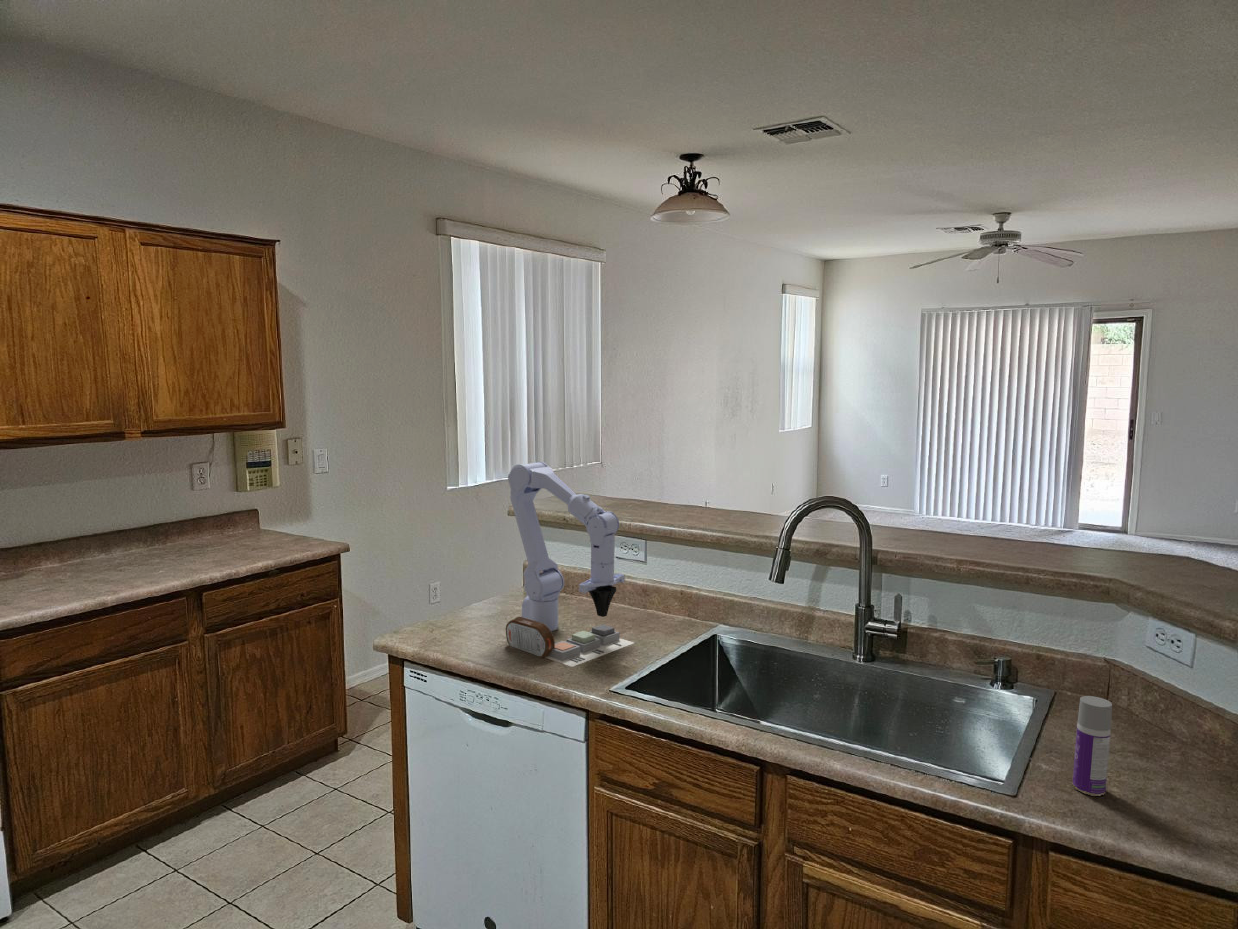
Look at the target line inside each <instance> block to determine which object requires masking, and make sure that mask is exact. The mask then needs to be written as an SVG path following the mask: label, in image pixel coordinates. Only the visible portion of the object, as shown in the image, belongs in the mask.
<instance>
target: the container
mask: <svg viewBox="0 0 1238 929" xmlns="http://www.w3.org/2000/svg"><path fill="white" fill-rule="evenodd" d="M1112 714H1113V704H1112V702H1111V701H1109V700H1108V699H1105V698H1102V697H1098V696H1092V695H1085V696H1081V697H1080V698H1079V708H1078V715H1077V722H1076V723H1077V724H1076V735H1075V746H1074V758H1073V770H1072V771H1073V772H1072V782H1073V785H1075V787H1077V788H1078V789H1079V790H1081V791H1086V792H1089V793H1092V794H1093V793H1094V794H1101V793H1104V792H1105V791H1106V790H1107V778H1108V769H1109V757H1110V754H1109V753H1110V746H1111V730H1112V717H1113V716H1112ZM1105 793H1106V792H1105Z"/></svg>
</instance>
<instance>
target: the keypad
mask: <svg viewBox="0 0 1238 929" xmlns="http://www.w3.org/2000/svg"><path fill="white" fill-rule="evenodd" d="M588 632H589V633H592V630H591V631H588ZM620 633H621V632H620V631H618V630H617V631H616V630H614V633H613V634H610V635H607V636H604V637H603V636H600V635H596V634H595V640H593V641H590V642H588V643H585V644H583V643H580V642H577V641H573V640H572V637H569V638H566V640H560V641H558V642H555V645H556V644H558V643H561V642H565V643H568V644H571V645H574V646H575V647H574V648H571V649H568V650H565V651H560V650H557V649H552V651H551V653H550V654H549V655H548V656H547V657H544V659H548V660H551V661H554V662H556V663H560V664H563V665H565V666H568V667H571V668H573V667H576V666H579V665H581V664H583V663H586V662H589V661H591V660H594V659H597V658H599V657H602V656H605V655H607V654H610V653H612V652H615V651H619V650H621V649H623V648H626V647H628V646H631V645H633V644H635V642H634V641H630V640H627V639H623V638H620ZM592 634H593V633H592Z"/></svg>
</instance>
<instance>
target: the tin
mask: <svg viewBox="0 0 1238 929" xmlns="http://www.w3.org/2000/svg"><path fill="white" fill-rule="evenodd" d="M552 632H553V631H550V629H549V628H548V627H547V626H546V625H545V624H543V623H541V622H537V621H533V620H530V619H526V618H523V617H522V616H517V617H515V618H513V619H511V620H510V621H508V622H507V623H506V625H505V637H506V641H507V643H508V645H509V647H511V648H515V649H518V650H521V651H524V652H526V653H529V654H532V655H534V656H538V657H540V658H544V659H545V657H547V656H548V655H549V654H550V653H551V651H552V649H554V648H555V643H556V642H555V637H554V635H553V633H552Z"/></svg>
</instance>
